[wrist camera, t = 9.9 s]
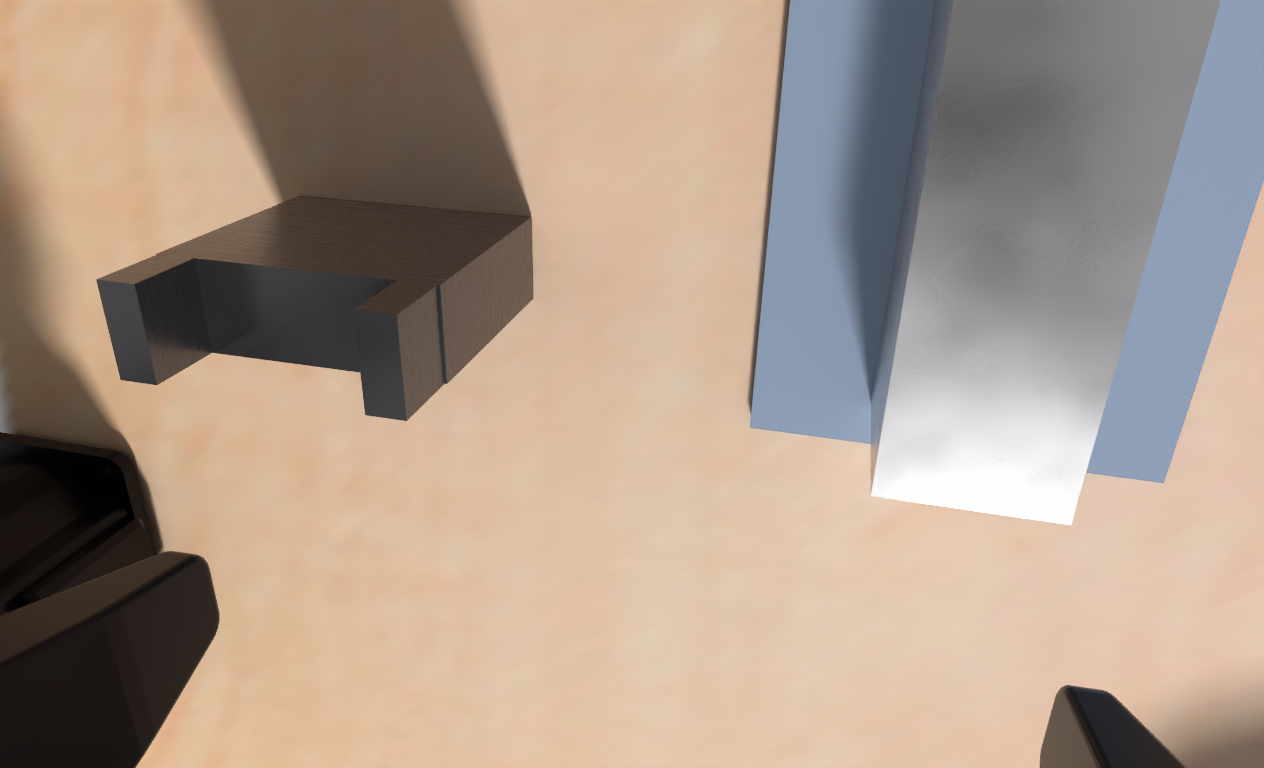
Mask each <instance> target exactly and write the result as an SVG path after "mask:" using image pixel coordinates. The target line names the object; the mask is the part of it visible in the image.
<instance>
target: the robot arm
mask: <svg viewBox="0 0 1264 768" xmlns="http://www.w3.org/2000/svg"><path fill="white" fill-rule="evenodd" d="M218 625H219V609H218V604H217V600H216V595H215V591H214V586H213V582H212V578H211V573H210V569H209V565H208V563H207V562H206V560H205V559H204V558H203V557H201V556H199V555H195V554H189V553H182V552H175V551H168V552H163V553H160V554H157V555H155V553H154V549H153V545H152V541H151V537H150V533H149V529H148V525H147V521H146V517H145V513H144V509H143V505H142V501H141V497H140V493H139V489H138V485H137V481H136V477H135V473H134V469H133V466H132V464H131V462H130V461H129V459H128V458H127V457H126V456H124V455H123V454H122V453H119V452H116V451H111V450H105V449H99V448H93V447H87V446H81V445H75V444H68V443H62V442H56V441H50V440H44V439H38V438H31V437H25V436H19V435H13V434H7V433H1V432H0V768H135V767H136V766H137V765H138V763H139V762H140V760H141V759H142V757H143V756H144V754H145V753H146V751H147V749H148V748H149V746H150V745H151V743H152V741H153V740H154V738H155V737H156V735H157V733H158V732H159V730H160V728H161V727H162V725H163V723H164V721H165V720H166V718H167V716H168V715H169V713H170V711H171V710H172V708H173V706H174V705H175V703H176V701H177V700H178V698H179V696H180V694H181V693H182V691H183V689H184V688H185V686H186V684H187V683H188V681H189V679H190V678H191V676H192V674H193V672H194V671H195V669H196V667H197V666H198V664H199V662H200V661H201V659H202V657H203V656H204V654H205V652H206V651H207V649H208V647H209V645H210V644H211V642H212V640H213V639H214V637H215V635H216V632H217V629H218ZM1040 768H1187V767H1186V766H1185V765H1184V764H1183V763H1182V762H1181V761H1180V760H1179V759H1178V758H1177V757H1176V756H1175V755H1174V754H1173V753H1172V752H1171V751H1170V750H1168V749H1167V748H1166V747H1165V746H1164V745H1163V744H1162V743H1161V742H1160V741H1159V740H1158V739H1157V738H1156V737H1155V736H1154V735H1153V734H1152V733H1151V732H1150V731H1149V730H1148V729H1147V728H1146V727H1145V726H1144V725H1143V724H1142V723H1141V722H1140V721H1139V720H1138V719H1137V718H1136V717H1135V716H1134V715H1133V714H1132V713H1131V712H1130V711H1129V710H1128V709H1127V708H1126V707H1125V706H1124V705H1123V704H1122V703H1121V702H1120V701H1119V700H1117V699H1116V698H1115V697H1114V696H1113V695H1112V694H1110V693H1108V692H1106V691H1103V690H1098V689H1091V688H1085V687H1078V686H1071V685H1066V686H1064V687H1062V688H1060V690H1059V691H1058V693H1057V694H1056V697H1055V700H1054V704H1053V708H1052V711H1051V715H1050V718H1049V722H1048V726H1047V729H1046V733H1045V737H1044V740H1043V744H1042V748H1041V754H1040Z"/></svg>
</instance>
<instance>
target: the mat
mask: <svg viewBox="0 0 1264 768" xmlns="http://www.w3.org/2000/svg"><path fill="white" fill-rule="evenodd" d="M934 2H935V0H790V7H789V18H788V28H787V39H786V50H785V60H784V71H783V81H782V92H781V103H780V113H779V124H778V134H777V145H776V156H775V166H774V177H773V188H772V198H771V209H770V219H769V230H768V241H767V251H766V262H765V273H764V283H763V294H762V304H761V315H760V326H759V336H758V347H757V358H756V368H755V379H754V389H753V400H752V411H751V421H750V428H756V429H764V430H771V431H779V432H786V433H794V434H801V435H808V436H816V437H823V438H831V439H838V440H846V441H853V442H861V443H868V444H871V399H872V393H873V386H874V380H875V374H876V367H877V361H878V355H879V349H880V342H881V336H882V330H883V323H884V317H885V311H886V304H887V298H888V292H889V286H890V279H891V273H892V267H893V260H894V254H895V248H896V241H897V235H898V229H899V223H900V216H901V210H902V204H903V197H904V191H905V185H906V178H907V172H908V166H909V160H910V153H911V147H912V141H913V134H914V128H915V122H916V115H917V109H918V103H919V97H920V90H921V84H922V78H923V71H924V65H925V59H926V52H927V46H928V40H929V33H930V27H931V21H932V15H933V8H934ZM1263 180H1264V0H1221V1H1220V5H1219V8H1218V12H1217V15H1216V19H1215V22H1214V26H1213V29H1212V33H1211V36H1210V40H1209V43H1208V47H1207V50H1206V54H1205V57H1204V61H1203V64H1202V68H1201V71H1200V75H1199V78H1198V82H1197V85H1196V89H1195V92H1194V96H1193V99H1192V103H1191V106H1190V110H1189V113H1188V117H1187V120H1186V124H1185V128H1184V131H1183V135H1182V138H1181V142H1180V145H1179V149H1178V152H1177V156H1176V159H1175V163H1174V166H1173V170H1172V173H1171V177H1170V180H1169V184H1168V187H1167V191H1166V194H1165V198H1164V201H1163V205H1162V208H1161V212H1160V215H1159V219H1158V222H1157V226H1156V229H1155V233H1154V236H1153V240H1152V243H1151V247H1150V250H1149V254H1148V257H1147V261H1146V264H1145V268H1144V271H1143V275H1142V278H1141V282H1140V285H1139V289H1138V292H1137V296H1136V299H1135V303H1134V306H1133V310H1132V313H1131V317H1130V320H1129V324H1128V327H1127V331H1126V334H1125V338H1124V341H1123V345H1122V348H1121V352H1120V355H1119V359H1118V362H1117V366H1116V369H1115V373H1114V376H1113V380H1112V383H1111V387H1110V390H1109V394H1108V397H1107V401H1106V404H1105V408H1104V411H1103V415H1102V418H1101V422H1100V425H1099V429H1098V432H1097V436H1096V439H1095V443H1094V446H1093V450H1092V453H1091V457H1090V460H1089V464H1088V467H1087V471H1086V473H1092V474H1099V475H1107V476H1114V477H1122V478H1129V479H1137V480H1144V481H1152V482H1159V483H1164V480H1165V477H1166V474H1167V471H1168V468H1169V465H1170V462H1171V459H1172V456H1173V453H1174V450H1175V447H1176V444H1177V441H1178V438H1179V435H1180V432H1181V429H1182V426H1183V423H1184V420H1185V417H1186V414H1187V411H1188V408H1189V405H1190V402H1191V399H1192V396H1193V393H1194V390H1195V386H1196V383H1197V380H1198V377H1199V374H1200V371H1201V368H1202V365H1203V362H1204V359H1205V356H1206V353H1207V350H1208V347H1209V344H1210V341H1211V338H1212V335H1213V332H1214V329H1215V326H1216V323H1217V320H1218V317H1219V314H1220V311H1221V308H1222V305H1223V302H1224V299H1225V296H1226V293H1227V290H1228V287H1229V283H1230V280H1231V277H1232V274H1233V271H1234V268H1235V265H1236V262H1237V259H1238V256H1239V253H1240V250H1241V247H1242V244H1243V241H1244V238H1245V235H1246V232H1247V229H1248V226H1249V223H1250V220H1251V217H1252V214H1253V211H1254V208H1255V205H1256V202H1257V199H1258V196H1259V193H1260V190H1261V187H1262V183H1263Z"/></svg>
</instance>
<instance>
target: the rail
mask: <svg viewBox="0 0 1264 768" xmlns="http://www.w3.org/2000/svg"><path fill="white" fill-rule="evenodd" d="M1220 1H1221V0H935V2H934V8H933V15H932V21H931V27H930V33H929V40H928V46H927V52H926V59H925V65H924V71H923V78H922V84H921V90H920V97H919V103H918V109H917V115H916V122H915V128H914V134H913V141H912V147H911V153H910V160H909V166H908V172H907V178H906V185H905V191H904V197H903V204H902V210H901V216H900V223H899V229H898V235H897V241H896V248H895V254H894V260H893V267H892V273H891V279H890V286H889V292H888V298H887V304H886V311H885V317H884V323H883V330H882V336H881V342H880V349H879V355H878V361H877V367H876V374H875V380H874V386H873V393H872V399H871V496H875V497H881V498H888V499H895V500H902V501H909V502H916V503H922V504H929V505H936V506H943V507H950V508H957V509H964V510H970V511H977V512H984V513H991V514H998V515H1005V516H1012V517H1018V518H1025V519H1032V520H1039V521H1046V522H1053V523H1059V524H1066V525H1071V523H1072V520H1073V516H1074V513H1075V509H1076V506H1077V502H1078V499H1079V495H1080V492H1081V488H1082V485H1083V481H1084V478H1085V474H1086V471H1087V467H1088V464H1089V460H1090V457H1091V453H1092V450H1093V446H1094V443H1095V439H1096V436H1097V432H1098V429H1099V425H1100V422H1101V418H1102V415H1103V411H1104V408H1105V404H1106V401H1107V397H1108V394H1109V390H1110V387H1111V383H1112V380H1113V376H1114V373H1115V369H1116V366H1117V362H1118V359H1119V355H1120V352H1121V348H1122V345H1123V341H1124V338H1125V334H1126V331H1127V327H1128V324H1129V320H1130V317H1131V313H1132V310H1133V306H1134V303H1135V299H1136V296H1137V292H1138V289H1139V285H1140V282H1141V278H1142V275H1143V271H1144V268H1145V264H1146V261H1147V257H1148V254H1149V250H1150V247H1151V243H1152V240H1153V236H1154V233H1155V229H1156V226H1157V222H1158V219H1159V215H1160V212H1161V208H1162V205H1163V201H1164V198H1165V194H1166V191H1167V187H1168V184H1169V180H1170V177H1171V173H1172V170H1173V166H1174V163H1175V159H1176V156H1177V152H1178V149H1179V145H1180V142H1181V138H1182V135H1183V131H1184V128H1185V124H1186V120H1187V117H1188V113H1189V110H1190V106H1191V103H1192V99H1193V96H1194V92H1195V89H1196V85H1197V82H1198V78H1199V75H1200V71H1201V68H1202V64H1203V61H1204V57H1205V54H1206V50H1207V47H1208V43H1209V40H1210V36H1211V33H1212V29H1213V26H1214V22H1215V19H1216V15H1217V12H1218V8H1219V5H1220Z"/></svg>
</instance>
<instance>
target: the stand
mask: <svg viewBox="0 0 1264 768" xmlns="http://www.w3.org/2000/svg"><path fill="white" fill-rule="evenodd" d="M97 284H98V288H99V292H100V297H101V301H102V305H103V309H104V313H105V317H106V321H107V325H108V329H109V334H110V338H111V342H112V346H113V350H114V354H115V358H116V362H117V366H118V371H119V375H120V379H121V380H126V381H133V382H139V383H146V384H153V385H158V384H160V383H161V382H163V381H165V380H167V379H168V378H170V377H172V376H173V375H175V374H177V373H178V372H180V371H182V370H184V369H185V368H187V367H189V366H190V365H192V364H194V363H195V362H197V361H199V360H200V359H202V358H204V357H206V356H207V355H209V354H211V353H219V354H227V355H234V356H242V357H249V358H257V359H264V360H272V361H279V362H287V363H294V364H302V365H309V366H317V367H324V368H332V369H339V370H347V371H354V372H361V381H362V390H363V398H364V407H365V415H369V416H376V417H383V418H390V419H397V420H404V421H407V420H408V419H409V418H410V417H411V416H412V415H413V414H414V413H415V412H416V411H417V410H418V409H419V408H420V407H421V406H422V405H423V404H424V403H425V402H426V401H427V400H428V399H429V398H430V397H431V396H432V395H433V394H435V393H436V392H437V391H438V390H439V389H440V388H441V387H442V386H443V385H444V384H447V383H448V382H449V381H450V380H451V379H452V378H453V377H454V376H455V375H456V374H458V373H459V372H460V371H461V370H462V369H463V368H464V367H465V366H466V365H467V364H468V363H469V362H470V361H471V360H472V359H473V358H474V357H475V356H476V355H477V354H478V353H479V352H480V351H481V350H482V349H483V348H484V347H485V346H486V345H487V344H488V343H489V342H490V341H491V340H492V339H493V338H494V337H495V336H496V335H497V334H498V333H499V332H500V331H501V330H502V329H503V328H504V327H505V326H506V325H507V324H508V323H509V322H510V321H511V320H512V319H513V318H514V317H515V316H516V315H517V314H518V313H519V312H520V311H521V310H522V309H523V308H524V307H525V306H526V305H527V304H528V303H529V302H530V301H531V300H532V299H533V266H532V221H531V217H524V216H514V215H503V214H492V213H481V212H470V211H459V210H448V209H437V208H426V207H415V206H404V205H393V204H382V203H371V202H360V201H349V200H338V199H327V198H316V197H305V196H298V197H296V198H293V199H291V200H288V201H286V202H283V203H281V204H278V205H276V206H273V207H271V208H269V209H266V210H264V211H261V212H259V213H256V214H254V215H251V216H249V217H246V218H244V219H241V220H239V221H236V222H234V223H232V224H229V225H227V226H224V227H222V228H219V229H217V230H214V231H212V232H209V233H207V234H204V235H202V236H200V237H197V238H195V239H192V240H190V241H187V242H185V243H182V244H180V245H177V246H175V247H172V248H170V249H167V250H165V251H163V252H160V253H158V254H156V255H155V256H153V257H151V258H148V259H146V260H143V261H141V262H138V263H136V264H133V265H131V266H128V267H126V268H124V269H121V270H119V271H116V272H114V273H111V274H109V275H106V276H104V277H101V278H99V279H97Z"/></svg>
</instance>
